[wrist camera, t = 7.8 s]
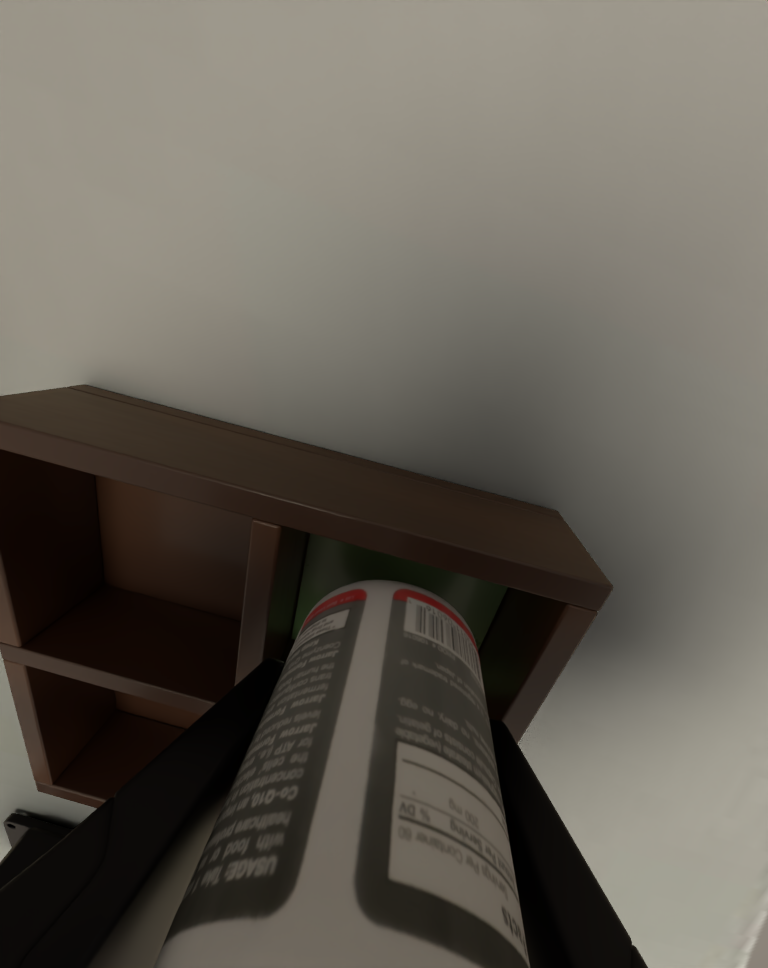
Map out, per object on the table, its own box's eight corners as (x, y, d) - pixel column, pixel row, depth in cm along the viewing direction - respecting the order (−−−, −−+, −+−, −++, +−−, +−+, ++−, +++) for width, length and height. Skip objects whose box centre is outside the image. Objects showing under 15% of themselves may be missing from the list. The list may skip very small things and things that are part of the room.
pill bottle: (316, 703, 11) (47, 1570, 3) (290, 572, 9) (-417, 1756, 2) (476, 712, 10) (615, 1821, 3) (480, 573, 9) (929, 2629, 1)
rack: (422, 790, 17) (420, 902, 13) (113, 702, 17) (36, 791, 14) (558, 510, 11) (615, 588, 7) (83, 383, 11) (-66, 404, 8)
